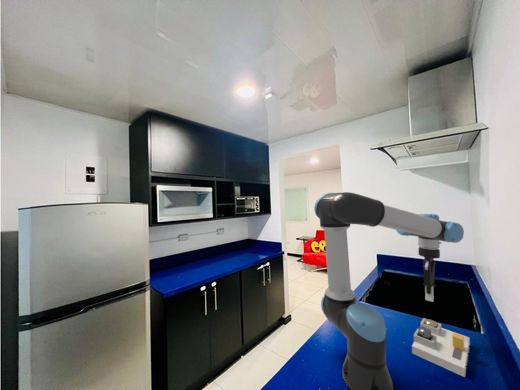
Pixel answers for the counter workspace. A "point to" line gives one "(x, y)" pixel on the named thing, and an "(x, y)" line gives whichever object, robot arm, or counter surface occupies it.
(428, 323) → the brass button
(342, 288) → the robot arm
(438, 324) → the console
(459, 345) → the slider knob
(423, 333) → the grey button
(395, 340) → the counter surface
